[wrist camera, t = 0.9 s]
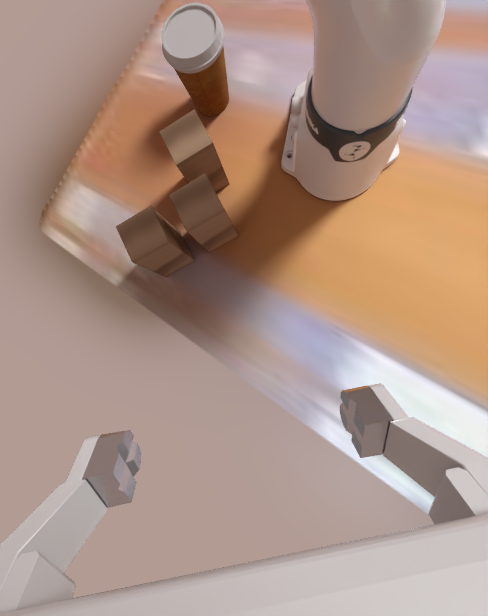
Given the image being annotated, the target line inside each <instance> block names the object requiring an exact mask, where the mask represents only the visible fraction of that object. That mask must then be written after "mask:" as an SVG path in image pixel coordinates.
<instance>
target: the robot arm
mask: <svg viewBox="0 0 488 616" xmlns="http://www.w3.org/2000/svg"><path fill="white" fill-rule="evenodd" d="M306 1H307V4H308V6H309V10H310V13H311V16H312V21H313V29H314V62H313V68H312V69H311V70H310V71H309V73H308V77H307V80H305V81H304V82H302V83H301V84H299V85H298V86H297V87H296V90H295V94H294V97H293V98H292V106H291V114H290V120H289V125H288V130H287V135H286V140H285V145H284V150H283V156H282V161H281V168H282V169H283V170H284V171H285V172H286V173H288V174H290V175H292V176H294V177H295V178H296V179H297V180H298V181H299V182H300V184H301V185H302V186H303V187H304V188H305V189H306V190H307V191H308V192H309V193H311V194H312V195H314V196H316V197H318V198H321V199H325V200H331V201H340V200H346V199H350V198H353V197H355V196H358V195H359V194H361V193H363V192H364V191H366V190H367V189H368V188H369V187H370V186H371V185H372V184H373V183H374V182H375V180H376V179H377V177H378V176H379V174H380V173H381V172H382V170H383V169H385V168H386V167H388V166H389V165H390V164H392V163H393V162H394V161H395V160H396V159H397V157H398V155H399V146H398V143H397V142H398V140H399V138H400V135H401V133H402V131H403V129H404V127H405V122H406V121H405V120H404V119H403V115H404V113H405V111H406V108H407V106H408V105H407V104H408V102H409V100H410V97H411V94H412V88H413V85H414V83H415V81H416V79H417V77H418V75H419V73H420V71H421V69H422V67H423V65H424V63H425V61H426V59H427V57H428V56H429V54H430V52H431V50H432V48H433V46H434V44H435V42H436V40H437V38H438V36H439V33H440V30H441V26H442V23H443V18H444V12H445V0H306ZM288 156H291V158H288ZM341 399H342V401H343V403H342V404H341V405H340V415H341V419H342V422H343V425H344V427H345V429H346V431H348V432H349V433H351V434H352V443H353V444H354V446H355V448H356V450H357V452H358V454H359V456H360V458H363V457H369V456H375V455H381V454H384V455H383V456H385V457H386V458H387V459H388V460H390V461H391V462H392V463H393V464H395V465H396V466H397V467H398V468H400V469H401V470H402V471H403V472H404V473H406V474H407V475H408V476H409V477H411V478H412V479H413V480H414V481H416V482H417V483H418V484H419V485H421V486H422V487H423V488H424V489H426V490H427V491H428V492H429V493H431V494H432V495H433V496H434V497H435V498H434V501H433V503H432V505H431V508H430V511H429V515H430V517H431V519H432V520H433V522H434V524H433V525H428V526H423V527H418V528H414V529H409V530H404V531H399V532H394V533H389V534H384V535H379V536H375V537H370V538H365V539H360V540H355V541H350V542H345V543H341V544H336V545H331V546H326V547H321V548H316V549H311V550H306V551H302V552H297V553H292V554H287V555H282V556H277V557H272V558H267V559H262V560H257V561H253V562H248V563H243V564H238V565H233V566H229V567H223V568H219V569H214V570H209V571H204V572H199V573H194V574H189V575H185V576H179V577H175V578H170V579H165V580H160V581H156V582H150V583H145V584H140V585H136V586H131V587H126V588H121V589H116V590H111V591H107V592H102V593H97V594H92V595H87V596H82V597H77V598H72V597H73V594H74V591H75V587H76V585H75V583H74V582H73V581H72V580H71V579H70V578H69V577H68V576H66V575H65V574H64V572H65V571H66V569H67V568H68V566H69V565H70V563H71V562H72V561H73V559H74V558H75V556H76V554H77V553H78V552H79V550H80V549H81V547H82V546H83V544H84V543H85V541H86V540H87V539H88V537H89V536H90V534H91V533H92V531H93V530H94V528H95V527H96V525H97V524H98V523H99V521H100V520H101V518H102V517H103V515H104V514H105V512H106V511H107V508H108V507H113V506H116V505H121V504H126V503H131V502H132V499H133V494H134V490H135V486H136V481H135V479H134V475H135V474H136V473H137V472H138V470H139V468H140V463H141V452H140V448H139V445H138V443H136V442H134V441H132V440H133V434H132V432H131V431H130V430H129V431H122V432H115V433H109V434H102V435H97V436H91V437H87V438H86V439H85V441H84V442H83V445H82V446H81V449H80V451H79V453H78V455H77V458H76V460H75V462H74V464H73V466H72V469H71V471H70V473H69V475H68V478H67V480H66V482H65V483H64V484H60V485H59V486H58V487H57V488H56V489H55V490H54V491H53V492H52V493H51V494H50V495H49V496H48V497H47V498H46V499H45V500H44V501H43V502H42V503H41V504H40V505H39V506H38V507H37V508H36V509H35V510H34V512H32V513H31V515H29V517H27V518H26V519H25V520H24V521H23V522H22V523H21V525H19V527H17V529H15V531H14V532H12V533H11V534H10V535H9V536H8V537H7V539H6V540H5V541H4V542H2V543H1V544H0V616H488V458H487V457H485V456H484V455H482V454H480V453H478V452H476V451H474V450H473V449H471V448H469V447H467V446H465V445H463V444H461V443H460V442H458V441H456V440H454V439H452V438H450V437H449V436H447V435H445V434H443V433H441V432H439V431H438V430H436V429H434V428H432V427H430V426H428V425H426V424H425V423H423V422H421V421H419V420H417V419H415V418H414V417H411V418H409V417H408V416H407V415H406V413H405V412H404V411H403V410H402V408H401V407H400V406H399V404H398V403H397V402H396V401H395V399H394V398H393V397H392V396H391V394H390V393H389V392H388V390H387V389H386V388H385V387H384V385H382V384H381V383H380V384H375V385H370V386H363V387H358V388H353V389H348V390H343V391H342V392H341Z"/></svg>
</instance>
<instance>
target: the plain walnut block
mask: <svg viewBox="0 0 488 616" xmlns="http://www.w3.org/2000/svg"><path fill="white" fill-rule="evenodd" d="M116 228H117V230H118V232H119V234H120V237H121V239H122V241H123V243H124V245H125V248H126V250H127V252H128V254H129V256H130V259H131V261H132V262H133V263H135V264H138V265H140V266H142V267H145V268H147V269H149V270H152V271H154V272H156V273H159V274H161V275H163V276H166V277H167V276H169V275H171V274H172V273H174V272H176V271H178V270H179V269H181V268H183V267H185V266H186V265H188V264H190V263H192V262H194V259H193V256H192V254H191V252H190V250H189V248H188V246H187V244H186V242H185V240H184V238H183V236H182V234H181V233H180V232H179V231H178V230H177V229H176V228H175V227H174V226H173V225H172V224H170V223H169V222H168V221H167V220H166V219H165V218H164V217H163V216H162V215H161V214H159V213H158V212H157V211H156V210H155V209H154V208H153V207H152V206H149V207H148V208H146V209H144V210H143V211H141V212H139V213H138V214H136V215H134V216H133V217H131V218H129V219H128V220H126V221H124V222H123V223H121V224H119V225H118V226H116Z"/></svg>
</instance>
